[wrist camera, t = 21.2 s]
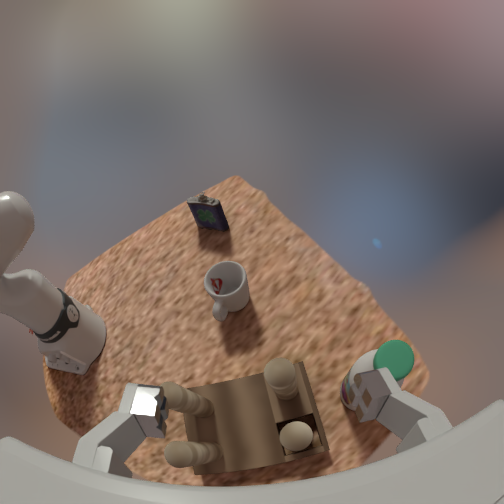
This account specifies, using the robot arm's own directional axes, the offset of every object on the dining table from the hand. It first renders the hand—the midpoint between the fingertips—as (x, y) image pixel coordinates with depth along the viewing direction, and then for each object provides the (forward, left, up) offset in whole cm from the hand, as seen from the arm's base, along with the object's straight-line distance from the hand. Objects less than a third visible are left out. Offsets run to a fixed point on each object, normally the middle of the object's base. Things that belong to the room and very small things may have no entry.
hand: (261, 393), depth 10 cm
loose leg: (0, -2, -36) cm, 36 cm away
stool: (-7, +2, -36) cm, 37 cm away
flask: (-7, +50, -36) cm, 62 cm away
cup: (-6, +26, -36) cm, 45 cm away
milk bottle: (+12, +2, -36) cm, 38 cm away
